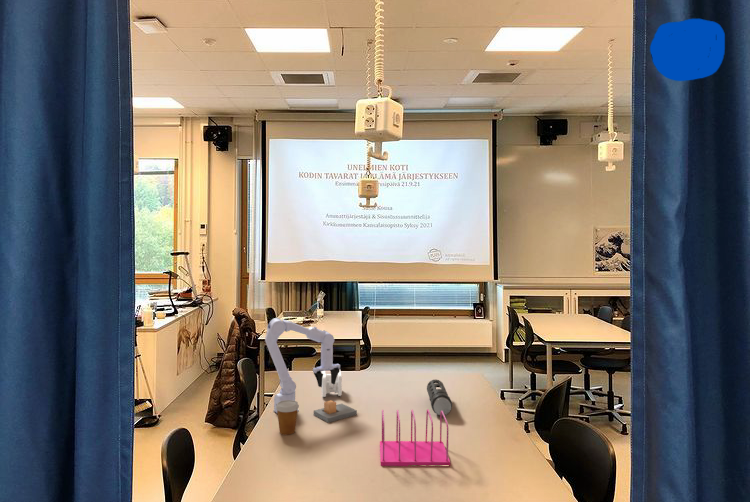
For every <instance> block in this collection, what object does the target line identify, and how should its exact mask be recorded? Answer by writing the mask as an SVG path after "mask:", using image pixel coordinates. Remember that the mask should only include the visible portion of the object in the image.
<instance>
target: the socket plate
mask: <svg viewBox="0 0 750 502" xmlns="http://www.w3.org/2000/svg"><path fill="white" fill-rule="evenodd" d="M357 412H358V410H357V409H354V408H352V407H350V406H349V405H346V404H344V403H339V404H336V412H335V413H331V414H327V413H325V412H324V407H322V408H319V409H315V410H313V416H314V417H316V418H318V419H320V420H322V421H324V422H326V423H327V424H328V423H333V422H336V421H339V420H344V419H346V418H351V417H353V416H356V415H357V414H358V413H357Z"/></svg>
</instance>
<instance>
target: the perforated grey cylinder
mask: <svg viewBox="0 0 750 502" xmlns="http://www.w3.org/2000/svg"><path fill="white" fill-rule="evenodd" d="M426 391H427V394H428V395H427V396H428V398H429V401H430V406H431V410H432V411H433V413H435V414H436V415H438V416H440V412H441V411H443V413H444V415H445V416H446V415H448V414H449V413H450V412H451V411H452V408H453V403H452V402H453V401H452V400H451V397H450V396H449V394H448V392H447V389H446V388H445V385H444V383H443V382H442V381H441V380H439V379H432V380H430V381H428V382H427V385H426ZM442 417H443V415H442Z"/></svg>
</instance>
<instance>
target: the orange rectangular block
mask: <svg viewBox="0 0 750 502" xmlns="http://www.w3.org/2000/svg"><path fill="white" fill-rule="evenodd" d="M323 402H324V403H323V404H324V405H323V408H324V412H325V413H327V414H331V413H335V412H336V405H337V402H335V401H334V400H331V399H330V400H327V401H323Z"/></svg>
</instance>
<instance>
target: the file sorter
mask: <svg viewBox="0 0 750 502" xmlns="http://www.w3.org/2000/svg"><path fill="white" fill-rule="evenodd" d="M410 410H411V411H410V440H401V419H400V411H399V409H397V410H396V425H395V427H396V436H395V438H396V439H395V440H385V414H384V413H385V412H384V409H381V440H380V441H379V455H380V456H379V457H380V459H379V460H380V466H381V467H409V466H408V465H450V466H451V460H450V458H449V422H448V420H447V418H446V415H444V413H443V411H441V412H440V415H439V421H440V422H439V441H435V440H434V421H433V418H432V416H431V411H430V410H429V408H428V409H426V413H425V414H426V418H425V419H426V420H425V440H419V441H417V425H416V417H415V413H414V409H410ZM442 415H443V416H442ZM428 416H429V417H428ZM429 418H430V419H429ZM442 418H443V419H444V421H445V425H446V447H445V444H444V441H443V440H442V429H443V428H442V427H443V426H442V423H443V422H442V421H443V419H442ZM428 420H430V423H431V431H430V432H431V438H430V440H429V441H428V422H429V421H428ZM413 423H414V424H413ZM413 426H414V427H413ZM413 429H414V434H413ZM413 435H414V440H413Z"/></svg>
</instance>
